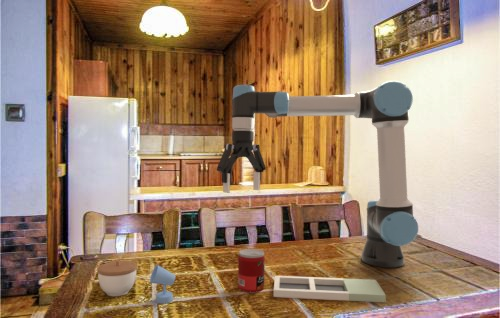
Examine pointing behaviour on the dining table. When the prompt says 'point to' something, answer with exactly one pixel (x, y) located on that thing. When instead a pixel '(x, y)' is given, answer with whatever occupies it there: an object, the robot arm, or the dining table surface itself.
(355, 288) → the board
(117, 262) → the lidded jar
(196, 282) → the dining table surface
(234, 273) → the dining table surface
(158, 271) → the spotlight
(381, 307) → the dining table surface
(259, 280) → the canned food
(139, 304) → the dining table surface
